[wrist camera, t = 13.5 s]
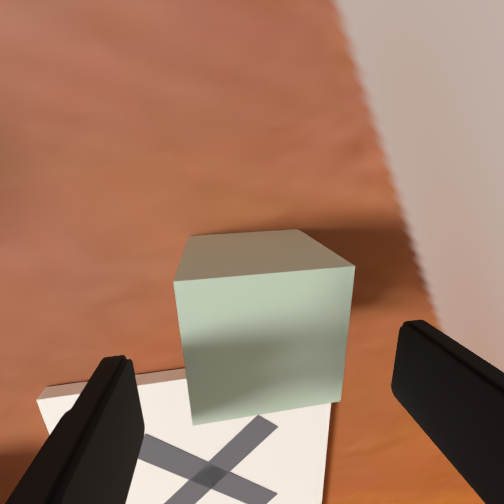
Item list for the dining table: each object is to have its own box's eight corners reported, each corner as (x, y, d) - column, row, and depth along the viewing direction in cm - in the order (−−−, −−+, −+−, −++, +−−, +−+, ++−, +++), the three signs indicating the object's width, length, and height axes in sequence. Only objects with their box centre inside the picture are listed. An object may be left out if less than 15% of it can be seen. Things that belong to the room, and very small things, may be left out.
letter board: (46, 386, 13) (35, 400, 12) (329, 348, 16) (335, 358, 15) (107, 558, 18) (103, 575, 17) (315, 510, 20) (320, 524, 20)
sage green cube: (189, 235, 12) (173, 281, 7) (297, 228, 13) (355, 266, 8) (199, 331, 14) (192, 425, 9) (294, 320, 15) (340, 401, 9)
